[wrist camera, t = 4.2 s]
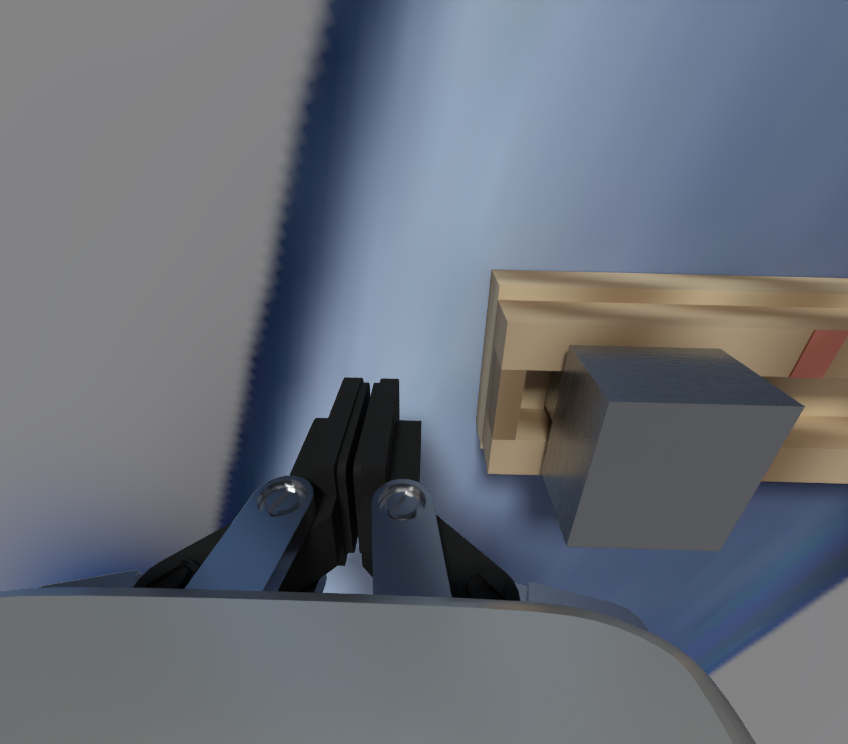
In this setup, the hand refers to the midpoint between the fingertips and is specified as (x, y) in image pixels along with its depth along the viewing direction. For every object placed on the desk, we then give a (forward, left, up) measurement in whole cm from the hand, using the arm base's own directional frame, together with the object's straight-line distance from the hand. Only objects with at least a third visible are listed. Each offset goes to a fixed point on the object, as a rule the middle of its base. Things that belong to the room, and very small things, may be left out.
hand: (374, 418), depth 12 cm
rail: (0, +13, -5) cm, 14 cm away
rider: (0, +8, -3) cm, 8 cm away
